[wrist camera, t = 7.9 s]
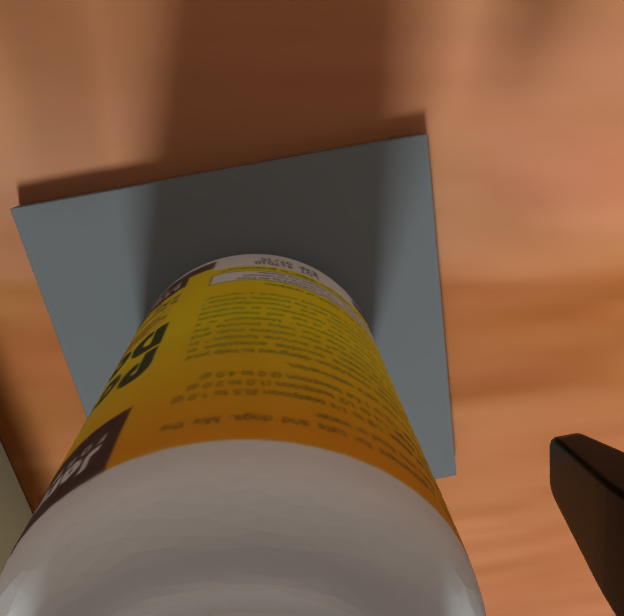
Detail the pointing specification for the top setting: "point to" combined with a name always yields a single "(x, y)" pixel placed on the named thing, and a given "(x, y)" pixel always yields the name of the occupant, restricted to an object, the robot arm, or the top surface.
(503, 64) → the top surface
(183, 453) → the supplement bottle
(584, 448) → the robot arm
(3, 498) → the drawer
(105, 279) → the mat
